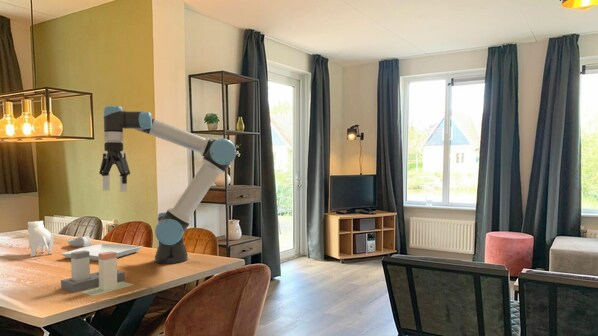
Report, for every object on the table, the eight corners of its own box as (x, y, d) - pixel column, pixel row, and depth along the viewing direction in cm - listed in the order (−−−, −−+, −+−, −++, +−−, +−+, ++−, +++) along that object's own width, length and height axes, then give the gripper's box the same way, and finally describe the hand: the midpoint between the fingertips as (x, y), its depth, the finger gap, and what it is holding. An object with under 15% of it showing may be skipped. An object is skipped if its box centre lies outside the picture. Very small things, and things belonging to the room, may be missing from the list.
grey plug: (85, 284, 161) (84, 250, 161) (89, 286, 159) (89, 251, 159) (71, 287, 157) (71, 252, 157) (76, 289, 155) (75, 253, 155)
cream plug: (112, 285, 160) (111, 251, 159) (117, 287, 157) (116, 252, 157) (99, 289, 156) (98, 253, 155) (104, 290, 153) (103, 254, 153)
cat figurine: (60, 256, 216) (59, 223, 216) (36, 259, 209) (35, 225, 208) (44, 249, 233) (43, 219, 233) (22, 252, 226) (21, 221, 225)
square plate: (105, 264, 200) (105, 256, 200) (59, 260, 208) (59, 252, 208) (143, 252, 225) (143, 245, 225) (101, 249, 234) (101, 242, 234)
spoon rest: (64, 246, 243) (64, 233, 243) (87, 243, 251) (86, 231, 251) (77, 252, 226) (76, 239, 226) (100, 249, 234) (100, 236, 234)
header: (112, 278, 173) (112, 268, 173) (125, 282, 168) (124, 272, 168) (61, 291, 157) (60, 280, 157) (73, 295, 152) (72, 284, 152)
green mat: (122, 284, 165) (122, 281, 165) (134, 287, 161) (134, 284, 161) (80, 294, 152) (80, 291, 152) (92, 298, 148) (92, 295, 148)
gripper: (90, 142, 190) (91, 190, 190) (121, 140, 175) (122, 192, 175) (106, 143, 196) (107, 189, 196) (138, 141, 181) (139, 191, 181)
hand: (114, 191), depth 186 cm, fingers open, 13 cm apart
